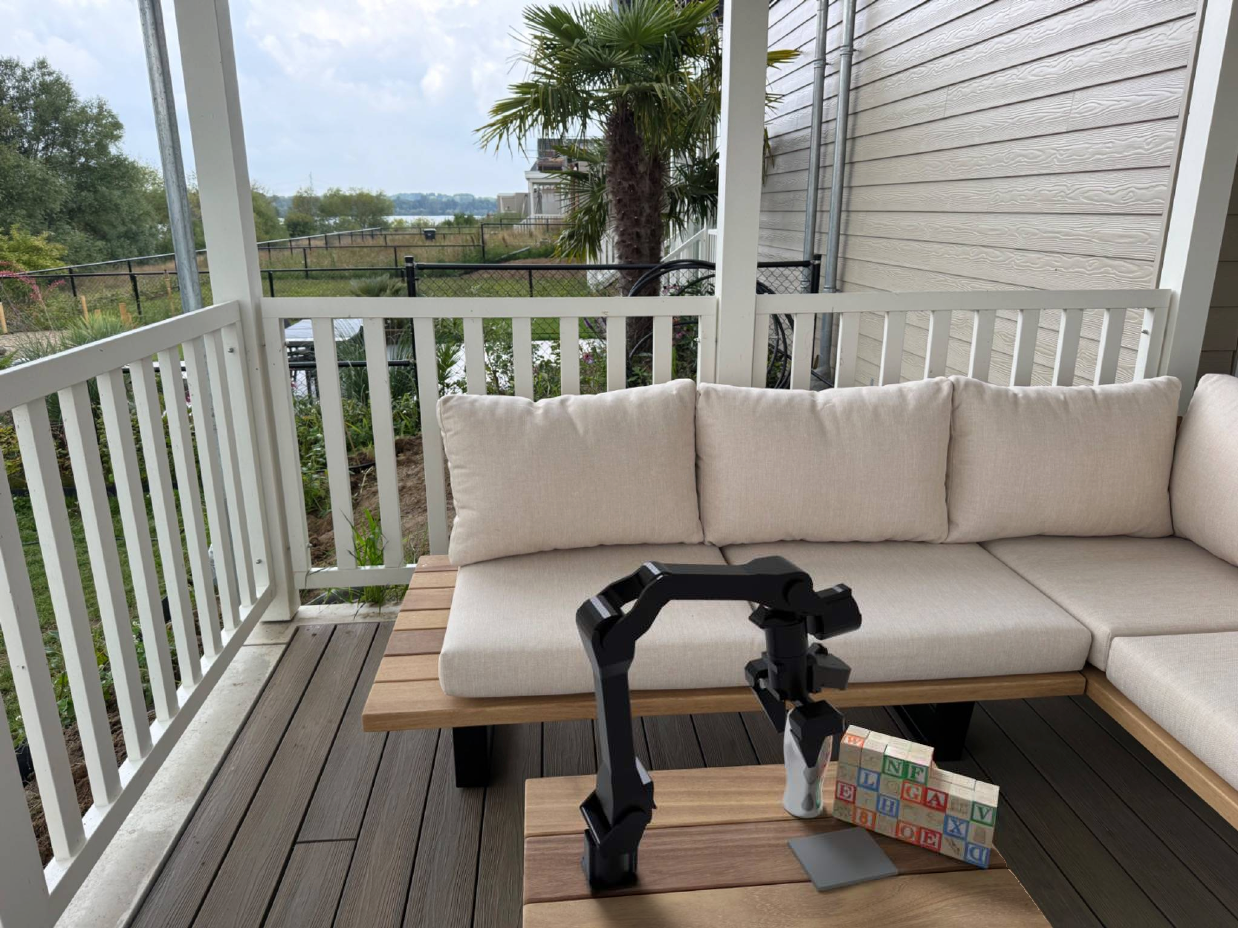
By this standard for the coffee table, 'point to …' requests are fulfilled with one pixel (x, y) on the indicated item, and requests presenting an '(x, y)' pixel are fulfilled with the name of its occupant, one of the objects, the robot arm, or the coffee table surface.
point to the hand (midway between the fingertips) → (795, 748)
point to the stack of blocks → (913, 796)
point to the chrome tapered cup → (804, 777)
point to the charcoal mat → (841, 858)
